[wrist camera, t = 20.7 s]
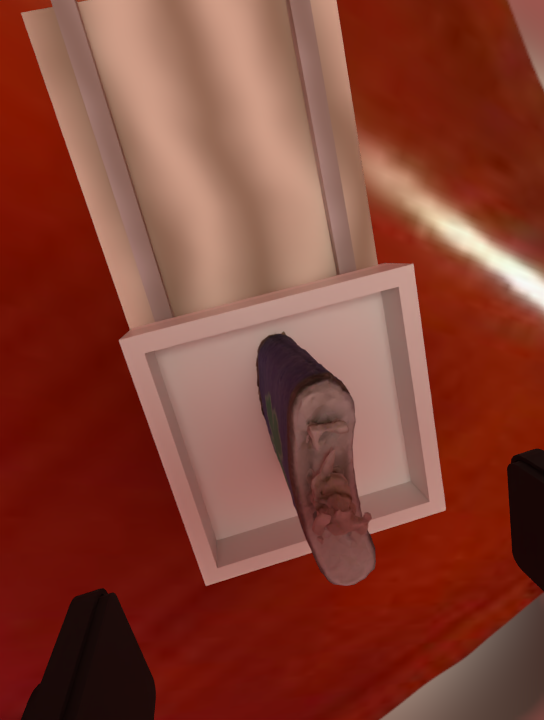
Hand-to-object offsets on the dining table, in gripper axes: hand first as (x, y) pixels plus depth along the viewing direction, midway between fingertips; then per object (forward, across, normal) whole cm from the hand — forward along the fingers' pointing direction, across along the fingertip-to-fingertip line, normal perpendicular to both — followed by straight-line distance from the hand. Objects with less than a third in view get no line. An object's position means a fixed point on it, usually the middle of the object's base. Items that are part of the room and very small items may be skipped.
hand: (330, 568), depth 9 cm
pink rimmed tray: (+19, -2, +4) cm, 20 cm away
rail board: (+22, -2, -5) cm, 23 cm away
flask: (+16, -2, +3) cm, 16 cm away
